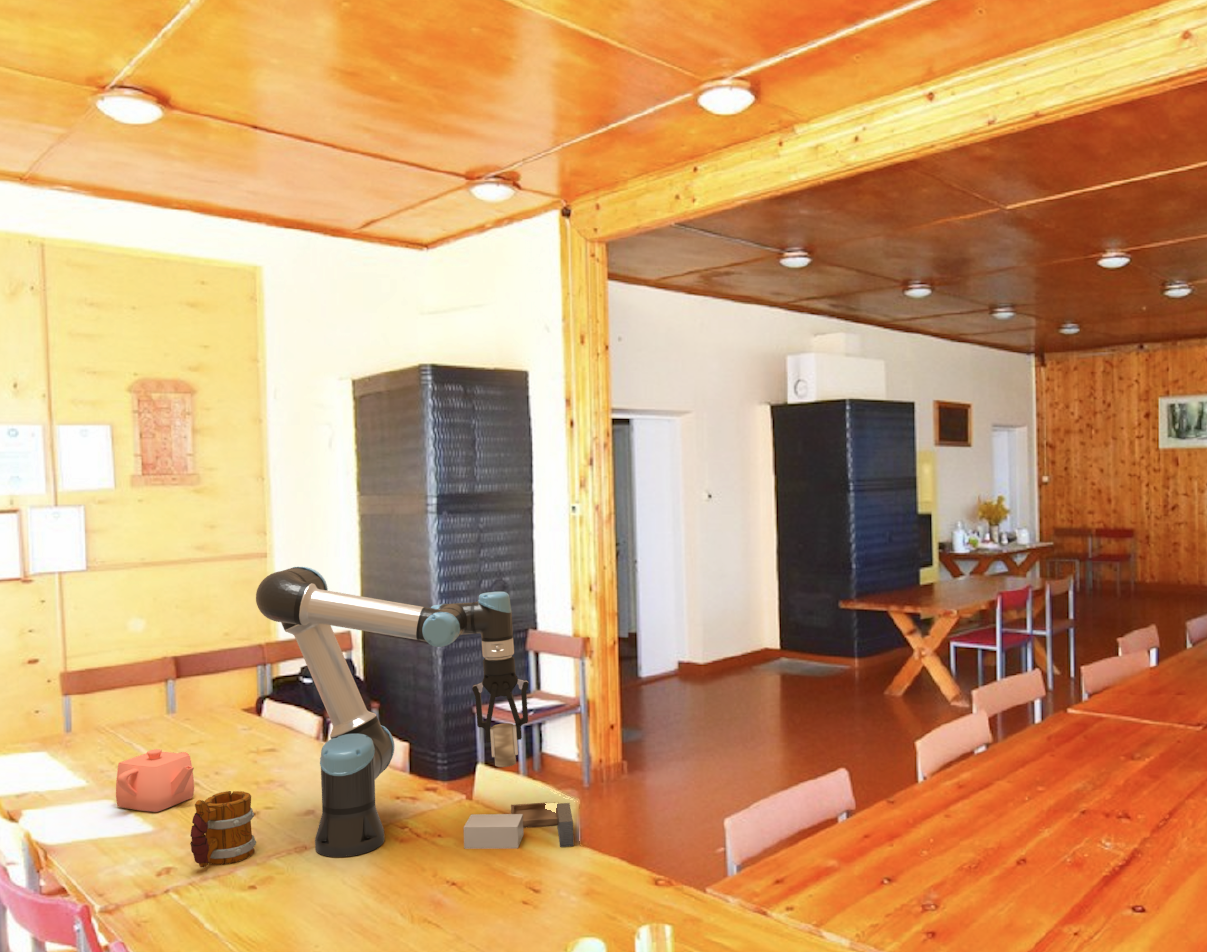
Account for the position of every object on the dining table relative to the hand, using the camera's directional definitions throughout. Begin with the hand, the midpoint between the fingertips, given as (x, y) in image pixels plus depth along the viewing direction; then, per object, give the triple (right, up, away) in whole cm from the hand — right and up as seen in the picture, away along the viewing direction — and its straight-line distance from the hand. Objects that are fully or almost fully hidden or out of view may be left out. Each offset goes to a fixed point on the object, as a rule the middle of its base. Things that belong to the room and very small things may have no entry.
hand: (505, 754), depth 224 cm
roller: (0, -2, 0) cm, 2 cm away
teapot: (-91, -19, +19) cm, 95 cm away
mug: (-60, -18, -19) cm, 66 cm away
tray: (+7, -16, +1) cm, 17 cm away
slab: (-1, -16, -13) cm, 21 cm away
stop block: (+15, -15, -12) cm, 24 cm away
